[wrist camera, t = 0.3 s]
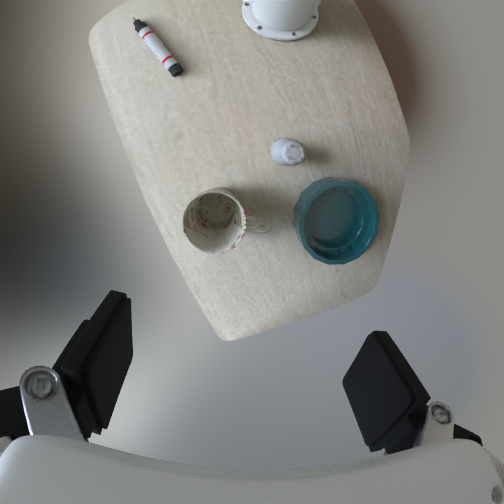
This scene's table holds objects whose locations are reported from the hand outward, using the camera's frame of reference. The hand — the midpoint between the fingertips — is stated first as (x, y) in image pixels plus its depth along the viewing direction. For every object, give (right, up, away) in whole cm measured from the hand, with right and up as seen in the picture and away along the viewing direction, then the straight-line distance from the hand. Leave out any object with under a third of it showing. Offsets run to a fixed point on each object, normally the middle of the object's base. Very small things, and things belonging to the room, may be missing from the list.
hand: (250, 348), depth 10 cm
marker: (-16, +37, +23) cm, 46 cm away
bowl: (+14, +10, +36) cm, 39 cm away
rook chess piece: (+5, +19, +31) cm, 37 cm away
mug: (-3, +11, +34) cm, 36 cm away
